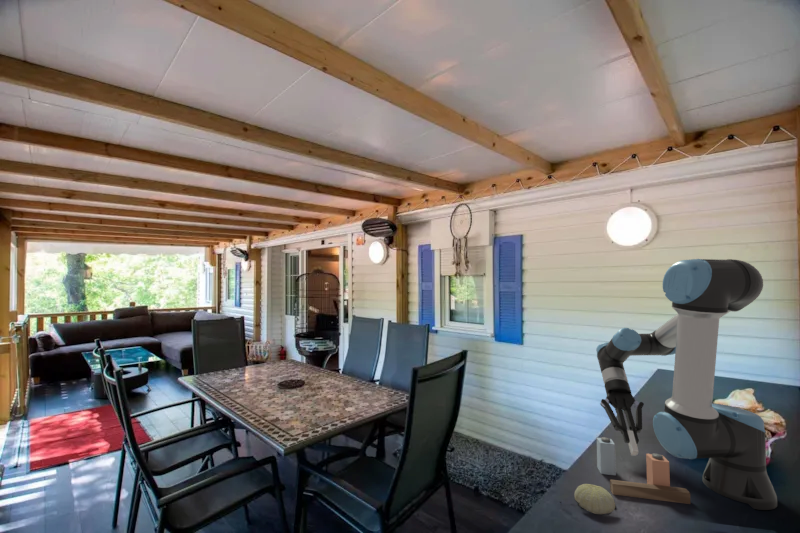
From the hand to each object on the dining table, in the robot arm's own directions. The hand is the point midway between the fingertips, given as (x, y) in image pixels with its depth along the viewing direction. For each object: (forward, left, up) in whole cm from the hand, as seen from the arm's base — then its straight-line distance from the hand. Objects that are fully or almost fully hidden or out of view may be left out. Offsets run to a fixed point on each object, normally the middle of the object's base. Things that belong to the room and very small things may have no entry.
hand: (634, 453), depth 112 cm
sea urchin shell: (-5, +26, -7) cm, 27 cm away
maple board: (-5, +7, -6) cm, 10 cm away
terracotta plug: (-10, +6, -5) cm, 13 cm away
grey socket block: (+3, +9, -5) cm, 11 cm away
